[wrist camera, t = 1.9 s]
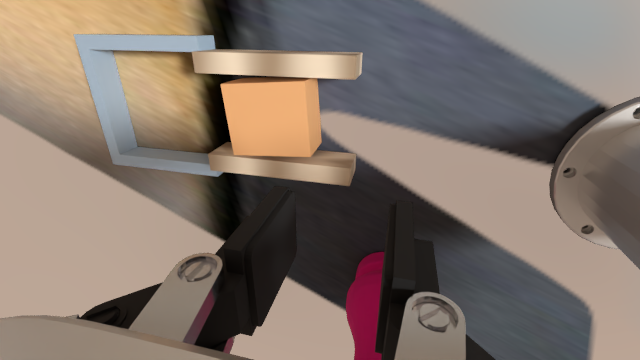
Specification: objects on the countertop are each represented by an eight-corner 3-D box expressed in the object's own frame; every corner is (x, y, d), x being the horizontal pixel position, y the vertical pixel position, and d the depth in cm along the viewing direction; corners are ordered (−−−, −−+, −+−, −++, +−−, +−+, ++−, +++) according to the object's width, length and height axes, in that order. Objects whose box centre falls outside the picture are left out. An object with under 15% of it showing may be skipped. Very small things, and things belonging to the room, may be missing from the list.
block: (317, 74, 27) (304, 81, 23) (321, 141, 29) (310, 157, 26) (243, 77, 28) (220, 84, 25) (253, 140, 31) (233, 155, 27)
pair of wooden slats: (362, 52, 25) (356, 55, 22) (355, 169, 29) (349, 186, 26) (215, 49, 28) (191, 51, 25) (229, 156, 32) (210, 170, 29)
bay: (213, 35, 27) (196, 35, 25) (230, 166, 32) (217, 176, 30) (97, 34, 30) (73, 34, 27) (131, 155, 35) (113, 164, 33)
